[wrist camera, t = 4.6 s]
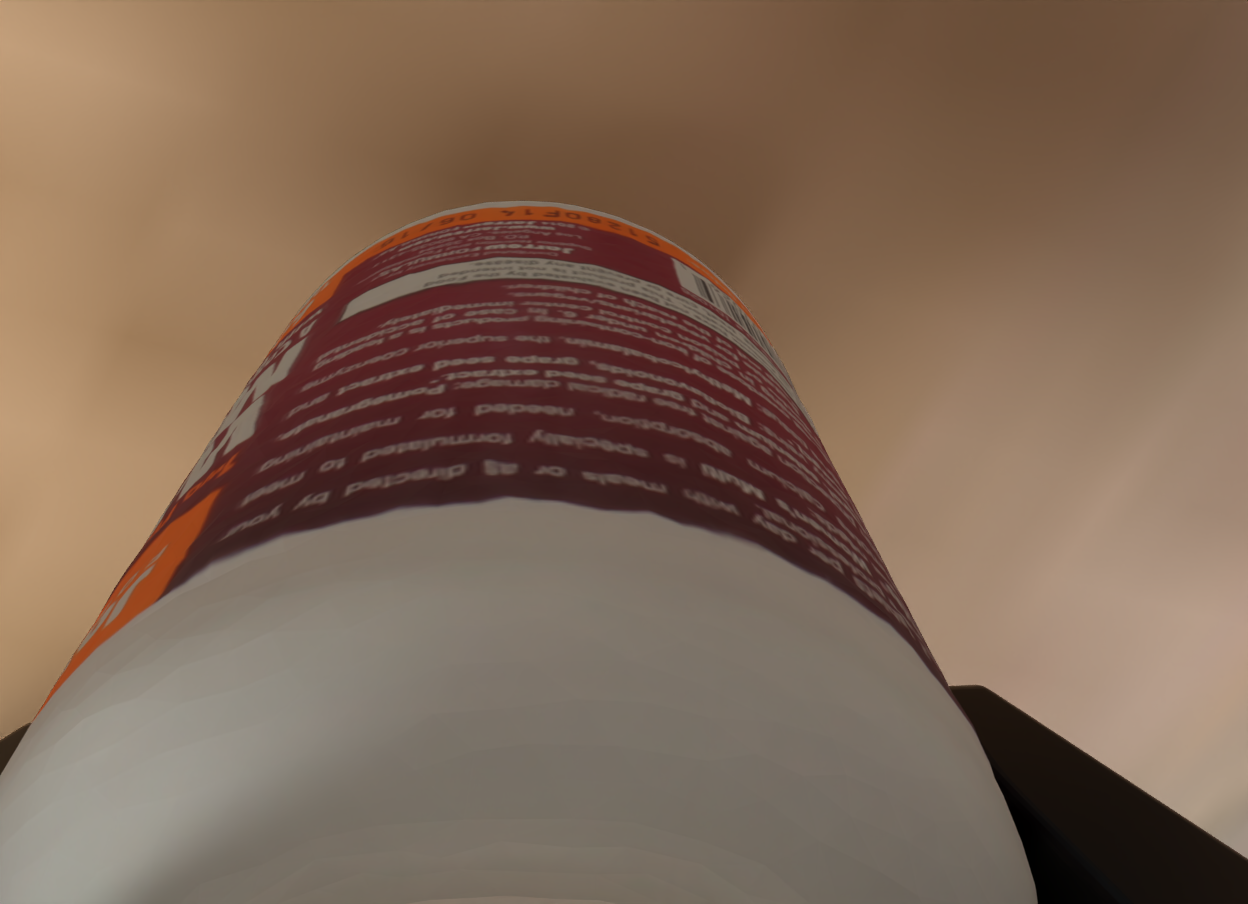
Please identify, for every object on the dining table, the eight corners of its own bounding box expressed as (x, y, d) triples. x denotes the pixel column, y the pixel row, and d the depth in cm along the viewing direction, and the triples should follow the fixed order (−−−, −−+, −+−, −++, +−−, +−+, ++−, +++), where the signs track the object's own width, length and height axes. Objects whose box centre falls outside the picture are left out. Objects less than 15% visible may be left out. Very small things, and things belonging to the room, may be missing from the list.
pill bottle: (238, 186, 13) (-1207, 1377, 2) (812, 191, 13) (1829, 1257, 3) (292, 672, 15) (-278, 2292, 5) (771, 667, 15) (1205, 2167, 5)
